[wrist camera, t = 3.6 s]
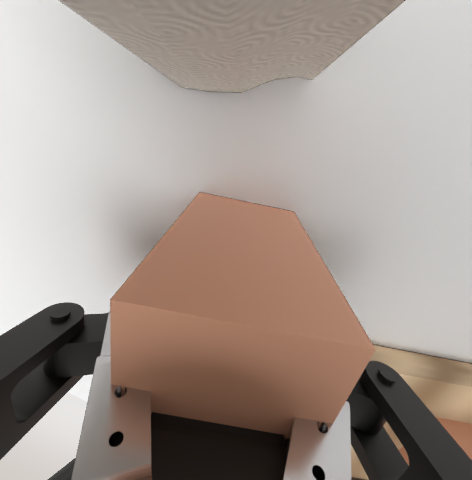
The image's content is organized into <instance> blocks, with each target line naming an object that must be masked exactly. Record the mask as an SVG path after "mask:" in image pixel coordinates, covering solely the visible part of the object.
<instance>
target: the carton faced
mask: <svg viewBox="0 0 472 480" xmlns="http://www.w3.org/2000/svg"><path fill="white" fill-rule="evenodd" d="M436 418H437V417H436ZM437 420H438V421H439V422H440V423H441V424H442V426H443V427H444V428H445V429H446V430H447V431H448V433H449V434H450V435H451V436H452V437H453V439H454V440H455V441H456V442H457V443H458V445H459V446H460V447H461V448H462V449H463V450H464V452H465V453H466V454H467V455H468V456H469V458H470V459H471V460H472V424H470V423H465V422H459V421H454V420H448V419H443V418H437ZM399 452H400V453H401V455H402V456H403V458H404V459H405V461H406V462H407V464H408V466H409V458H408V455H407V452H406V450H405V448H404V447H403V446H402V448H401V449H400V450H399Z"/></svg>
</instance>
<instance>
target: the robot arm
mask: <svg viewBox="0 0 472 480" xmlns="http://www.w3.org/2000/svg"><path fill="white" fill-rule="evenodd" d="M90 374H93V378H92V383H91V387H90V392H89V397H88V402H87V407H86V411H85V416H84V421H83V426H82V431H81V435H80V440H79V445H78V450H77V455H76V458H75V459H73V460H72V461H71V462H69V463H68V464H67V465H66V466H65V467H63V468H62V469H61V470H60V471H58V472H57V473H56V474H54V475H53V476H52V477H51V478H49V479H48V480H351V445H352V447H353V449H354V451H355V453H356V455H357V457H358V459H359V461H360V463H361V465H362V466H363V468H364V470H365V472H366V474H367V476H368V478H369V480H472V460H471V459H470V458H469V456H468V455H467V454H466V453H465V452H464V450H463V449H462V448H461V447H460V446H459V445H458V443H457V442H456V441H455V440H454V439H453V437H452V436H451V435H450V434H449V433H448V431H447V430H446V429H445V428H444V427H443V426H442V424H441V423H440V422H439V421H438V420H437V418H436V417H435V416H434V415H433V414H432V412H431V411H430V410H429V409H428V408H427V407H426V405H425V404H424V403H423V402H422V401H421V399H420V398H419V397H418V396H417V395H416V393H415V392H414V391H413V390H412V389H411V388H410V386H409V385H408V384H407V383H406V382H405V380H404V379H403V378H402V377H401V376H400V375H399V374H398V373H397V372H396V371H395V370H394V369H393V368H391V367H390V366H388V365H386V364H384V363H382V362H379V361H369V363H368V364H367V366H366V368H365V369H364V371H363V373H362V375H361V376H360V378H359V380H358V381H357V383H356V385H355V387H354V388H353V390H352V392H351V394H350V395H349V397H348V399H347V400H346V402H345V404H344V406H343V407H342V409H341V411H340V412H339V414H338V416H337V418H336V419H335V421H334V423H333V424H332V423H326V422H322V424H321V426H320V428H319V430H318V428H317V425H318V423H319V421H315V420H309V419H304V418H298V417H295V418H294V421H293V423H292V425H291V427H290V429H289V432H288V437H287V440H286V439H284V437H283V435H281V434H276V433H270V432H264V431H258V430H253V429H247V428H241V427H235V426H230V425H224V424H218V423H212V422H207V421H201V420H195V419H189V418H184V417H178V416H172V415H166V414H161V413H155V412H152V414H151V391H146V390H140V389H134V388H129V387H125V395H124V396H123V397H121V386H117V385H112V384H111V332H110V312H109V313H105V314H87V315H84V309H83V308H82V307H81V306H80V305H78V304H75V303H59V304H55V305H52V306H49V307H47V308H45V309H44V310H42V311H40V312H39V313H37V314H35V315H34V316H32V317H30V318H29V319H27V320H25V321H24V322H22V323H21V324H19V325H17V326H16V327H14V328H12V329H11V330H9V331H7V332H6V333H4V334H2V335H1V336H0V460H1V459H2V457H4V456H5V455H6V453H7V452H9V450H10V449H11V448H12V447H13V446H14V445H15V444H16V443H17V442H18V441H19V440H20V439H21V438H22V437H23V436H24V435H25V434H26V433H27V432H28V431H29V430H30V429H31V428H32V427H33V426H34V425H35V424H36V423H37V422H38V421H39V420H40V419H41V418H42V417H43V416H44V415H45V414H46V413H47V412H48V411H49V410H50V409H51V408H52V407H53V406H54V405H55V404H56V403H57V402H58V401H59V400H60V399H61V398H62V397H63V396H64V395H65V394H66V393H67V392H68V391H69V390H70V389H71V388H72V387H73V386H74V385H75V384H76V383H77V382H78V381H79V380H80V379H81V378H82V377H83V375H90ZM386 422H387V423H388V424H389V426H390V427H391V429H392V430H393V432H394V433H395V435H396V436H397V438H398V439H399V441H400V442H401V444H402V445H403V447H404V448H405V450H406V452H407V455H408V458H409V466H408V464H407V462H406V461H405V459H404V458H403V456H402V455H401V453H400V452H399V450H398V449H397V447H396V445H395V444H394V442H393V441H392V439H391V438H390V436H389V435H388V433H387V432H386V430H385V428H384V427H383V426H384V424H385V423H386Z"/></svg>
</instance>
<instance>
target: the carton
mask: <svg viewBox="0 0 472 480" xmlns="http://www.w3.org/2000/svg"><path fill="white" fill-rule="evenodd" d="M110 332H111V384H112V385H117V386H121V397H123V396H124V395H125V387H129V388H134V389H140V390H146V391H151V414H152V412H155V413H161V414H166V415H172V416H178V417H184V418H189V419H195V420H201V421H207V422H212V423H218V424H224V425H230V426H235V427H241V428H247V429H253V430H258V431H264V432H270V433H276V434H281V435H283V437H284V439H286V440H287V437H288V432H289V429H290V427H291V425H292V423H293V421H294V418H295V417H298V418H304V419H309V420H315V421H319V423H318V425H317V428H318V430H319V428H320V426H321V424H322V422H326V423H332V424H333V423H334V421H335V419H336V418H337V416H338V414H339V412H340V411H341V409H342V407H343V406H344V404H345V402H346V400H347V399H348V397H349V395H350V394H351V392H352V390H353V388H354V387H355V385H356V383H357V381H358V380H359V378H360V376H361V375H362V373H363V371H364V369H365V368H366V366H367V364H368V363H369V361H370V359H371V357H372V356H373V354H374V352H375V350H376V349H375V348H374V346H373V344H372V343H371V341H370V339H369V337H368V336H367V334H366V332H365V331H364V329H363V327H362V326H361V324H360V322H359V321H358V319H357V317H356V316H355V314H354V312H353V310H352V309H351V307H350V305H349V304H348V302H347V300H346V299H345V297H344V295H343V294H342V292H341V290H340V288H339V287H338V285H337V283H336V282H335V280H334V278H333V277H332V275H331V273H330V272H329V270H328V268H327V267H326V265H325V263H324V261H323V260H322V258H321V256H320V255H319V253H318V251H317V250H316V248H315V246H314V245H313V243H312V241H311V240H310V238H309V236H308V234H307V233H306V231H305V229H304V228H303V226H302V224H301V223H300V221H299V219H298V218H297V216H296V214H295V213H294V212H293V211H288V210H283V209H278V208H274V207H269V206H264V205H259V204H254V203H250V202H245V201H240V200H235V199H230V198H226V197H221V196H216V195H211V194H206V193H202V192H199V194H198V195H197V196H196V197H195V198H194V200H193V201H192V202H191V203H190V204H189V206H188V207H187V208H186V209H185V210H184V212H183V213H182V214H181V215H180V216H179V218H178V219H177V220H176V221H175V222H174V224H173V225H172V226H171V227H170V228H169V230H168V231H167V232H166V233H165V234H164V236H163V237H162V238H161V239H160V240H159V242H158V243H157V244H156V245H155V246H154V248H153V249H152V250H151V251H150V252H149V254H148V255H147V256H146V257H145V258H144V260H143V261H142V262H141V263H140V265H139V266H138V267H137V268H136V269H135V271H134V272H133V273H132V274H131V275H130V277H129V278H128V279H127V280H126V281H125V283H124V284H123V285H122V286H121V287H120V289H119V290H118V291H117V292H116V293H115V295H114V296H113V297H112V298H111V299H110Z"/></svg>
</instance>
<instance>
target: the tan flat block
mask: <svg viewBox="0 0 472 480" xmlns="http://www.w3.org/2000/svg"><path fill="white" fill-rule="evenodd" d="M373 346H374V348H375V349H376V350H375V352H374V354H373V356H372V357H371V359H370V361H379V362H382V363H384V364H386V365H388V366H390V367H391V368H393V369H394V370H395V371H396V372H397V373H398V374H399V375H400V376H401V377H402V378H403V379H404V380H405V382H406V383H407V384H408V385H409V386H410V388H411V389H412V390H413V391H414V392H415V393H416V395H417V396H418V397H419V398H420V399H421V401H422V402H423V403H424V404H425V405H426V407H427V408H428V409H429V410H430V411H431V412H432V414H433V415H434V416H435V417H437V418H443V419H448V420H454V421H459V422H465V423H470V424H472V364H470V363H465V362H460V361H455V360H449V359H444V358H439V357H434V356H428V355H423V354H418V353H413V352H408V351H402V350H397V349H392V348H387V347H382V346H376V345H373ZM383 427H384V428H385V430H386V432H387V433H388V435H389V436H390V438H391V439H392V441H393V442H394V444H395V445H396V447H397V449H398V450H400V449H401V448H402V446H403V445H402V444H401V442H400V441H399V439H398V438H397V436H396V435H395V433H394V432H393V430H392V429H391V427H390V426H389V424H388V423H387V422H386V423H385V424H384V426H383ZM351 480H369V478H368V476H367V474H366V472H365V470H364V468H363V466H362V465H361V463H360V461H359V459H358V457H357V455H356V453H355V451H354V449H353V447H352V445H351Z"/></svg>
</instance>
